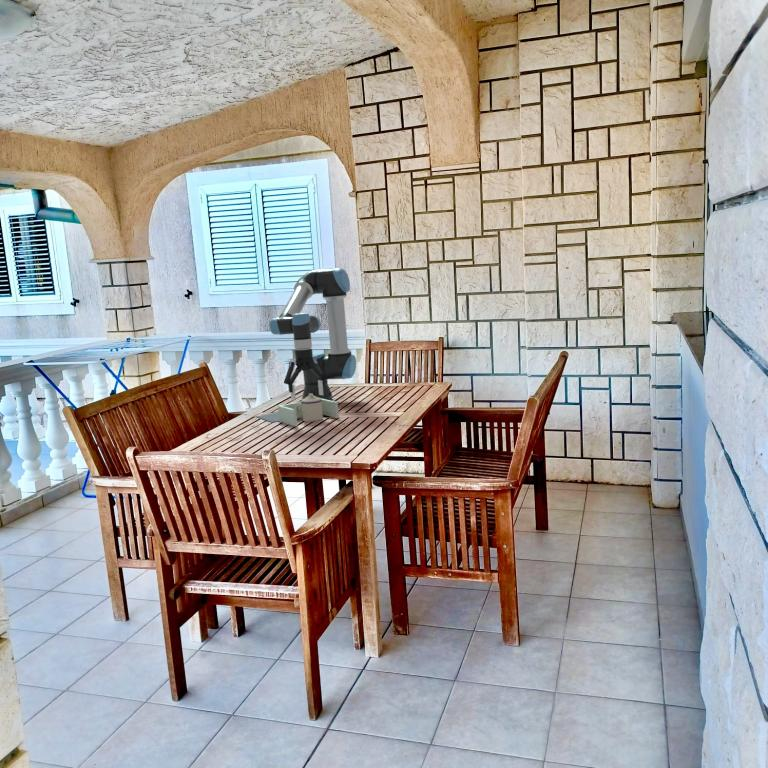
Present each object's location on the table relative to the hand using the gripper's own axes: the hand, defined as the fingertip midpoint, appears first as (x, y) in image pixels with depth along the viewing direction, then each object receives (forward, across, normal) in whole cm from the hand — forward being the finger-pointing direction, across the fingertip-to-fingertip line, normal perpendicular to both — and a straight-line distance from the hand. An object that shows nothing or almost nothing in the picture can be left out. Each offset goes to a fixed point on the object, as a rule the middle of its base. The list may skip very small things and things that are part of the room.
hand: (307, 397), depth 322 cm
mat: (+10, +5, -18) cm, 21 cm away
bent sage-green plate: (+10, 0, 0) cm, 10 cm away
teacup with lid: (+10, 0, 0) cm, 10 cm away
